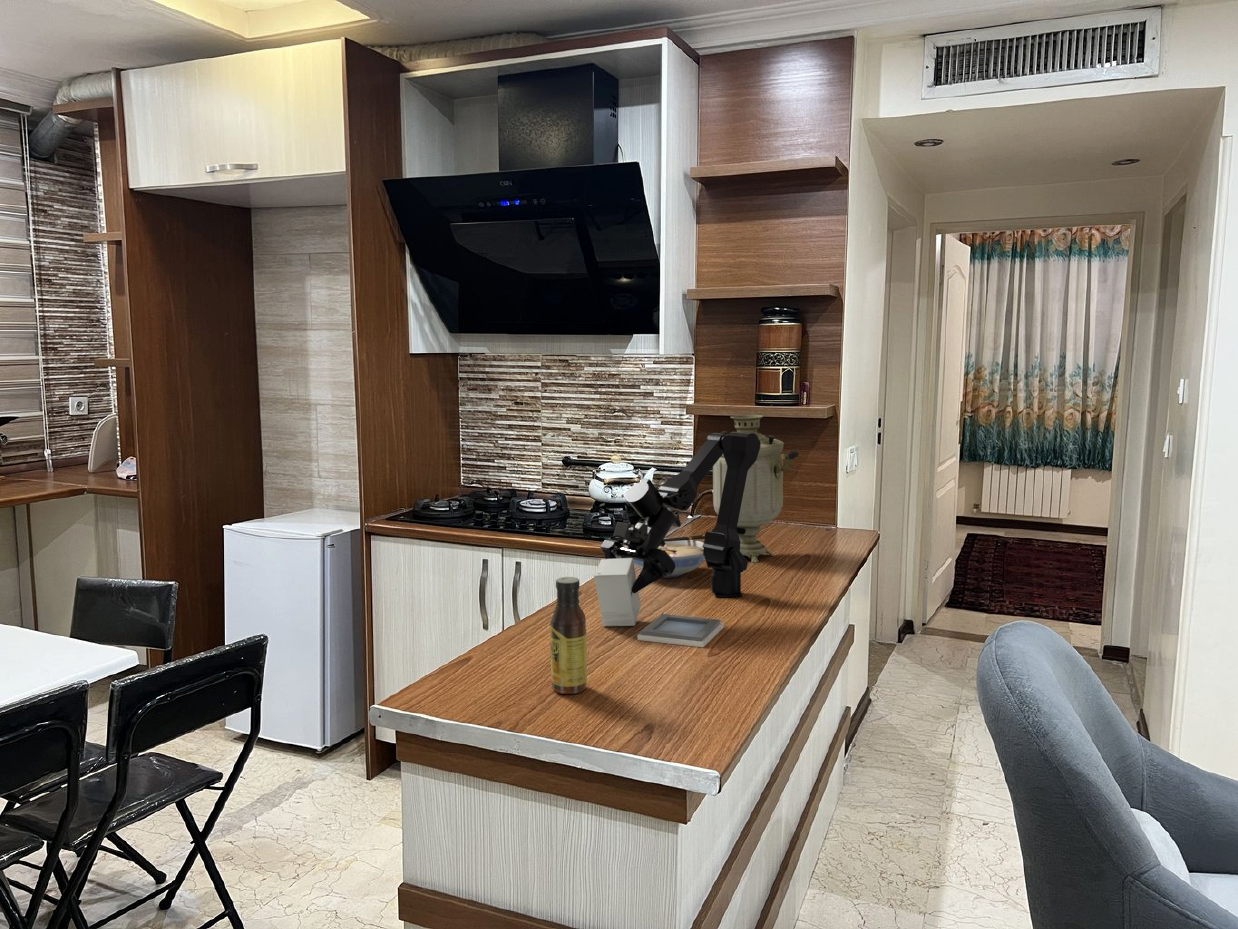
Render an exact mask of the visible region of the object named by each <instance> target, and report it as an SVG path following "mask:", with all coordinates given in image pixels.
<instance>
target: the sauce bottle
mask: <svg viewBox="0 0 1238 929" xmlns="http://www.w3.org/2000/svg"><path fill="white" fill-rule="evenodd" d="M580 585H581V584H580V579H579V578H578V577H574V576H563V577H562V576H561V577H559V578H558V579H556V580H555V587H556V605H555V608H554V611H553V614H552V618H551V621H550V626H549V627H550V628H549V632H550V634H549V636H550V638H549V639H550V680H551V687H552V689H553V690H554V691H555V692H556V693H557V694H561V695H562V694H563V695H572V694H573V695H575V694H580V693H582V692H583V691H584V690H585V689H586V687H587V681H588V670H587V669H588V668H587V666H588V665H587V664H588V663H587V662H588V661H587V658H588V656H587V654H588V653H587V627H586V623H587V622H586V615H585V612H584V610H583V609H582V608H581V606H580V605H579V604H580V600H579V590H580Z"/></svg>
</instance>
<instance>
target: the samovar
mask: <svg viewBox="0 0 1238 929" xmlns="http://www.w3.org/2000/svg"><path fill="white" fill-rule="evenodd" d="M730 418H731V419H732V420H733V422H734V428H735V430H736V432H745V433H755V434H756V435H757V436H758V438H759V440H760V443H761V445H760V450H759V453H758V457H757V460H756V461H755V463H754V464H753V465H752V466H751V467H750V469H749V470H748V472H747V477H746V483H745V488H744V493H743V498H742V503H741V509H740V514H739V519H738V524H737V533H738V536H739V539H740V542H741V543H740V552H741V553H742V554H743V556H746V557H748V558H749V559H751V561H750V563H754V564H758V563H760V561H759V558H758V557H759V556H760V555H764V554H767V555H771V557H773V556H774V554H773V553H772V552H771V551H769V550H768V549H767V547H766V545H764V544H762V542H761V541H760V540H759V539H758V540H757V538H756V537H757V536H758V535H760V532H761V531H760V530H761V529H760V527H762V526H764V525H767V524H769V523H771V522H772V521H774V519H776V518H778V516H779V514H781V511H782V509H783V506H784V471H788V470H789V469H790V467H791V466H792V465H793V459H795V458H798V457H799V456H800V455H799V451H796V450H794V451H789V452H788V453H786V454H785V453H782V451H783V449H784V441H782V440H780V439H776V436H775V435H773V434H769V435H767V437H766V435H764V434H762V433H760V432H758V430H759V428H760V426H761V425H760V424H761V423H760V422H761V421H760V420H761V419H762V418H764V415H760V414H741V415H732V416H730ZM727 433H728V431H724V430H723V431H721V432H720V434H727ZM727 435H728V434H727ZM702 446H703V445H701V446H700V447H699V449H700V448H701V447H702ZM784 460H785V461H786V464H784ZM726 471H727V464H726V461H725V458H724V455H722V456H721V457H720V458H719V460H718V461H717V462H716V463H715V465H714V466H713V467H712V502H713V504H712V506H713V509H714V511H715V513H716V515H717V516H718V512H719V507H720V502H721V497H722V492H723V486H724V481H725V476H726Z"/></svg>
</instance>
